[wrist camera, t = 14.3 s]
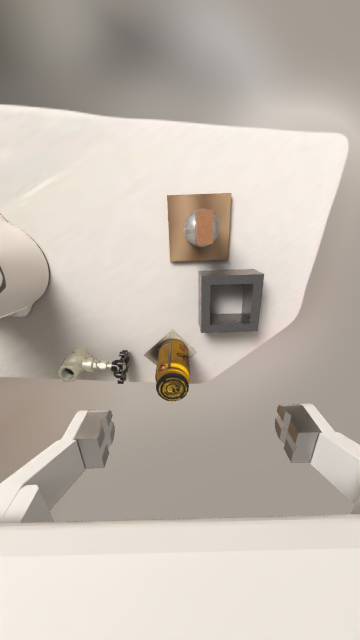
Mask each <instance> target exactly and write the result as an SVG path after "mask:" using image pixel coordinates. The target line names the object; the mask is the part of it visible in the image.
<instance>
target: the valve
mask: <svg viewBox="0 0 360 640" xmlns="http://www.w3.org/2000/svg"><path fill="white" fill-rule="evenodd" d="M127 355H128V351H127V350H123V351H122V352H120V354H119V356H122V357H121V359H120V360H115V361H113V362H112V363H108V361H101V362H98V360H96V358H95V357H91V355H90V354H89V352H88V351H87V350H86V349H80V348H77V349H76V350H75V351H74V352H73V354H70V355H69V356H67V357H66V359H65V360H64V362H63V364H62V365H61V367H60V369H59V370H58V372H57V374H58V375H59V377H60V378H61V379H62V380H64V381H74V380H75V379H76V378H77V376H78V374H80V373H82V372H83V371H84V370H85V371H87V372H90V373H93V372H94V371H95V370H97V369H98V368H99V369H100V370H105V371H106V370H107V369H108V368H111V370H112V371H114V375H115V377H116V378H120V380H118V384H123V383H124V381H126V372H128V366H127V363H128V361H129V357H128V356H127ZM117 371H119V372H117Z"/></svg>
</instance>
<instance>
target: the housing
mask: <svg viewBox="0 0 360 640" xmlns="http://www.w3.org/2000/svg"><path fill="white" fill-rule="evenodd" d="M263 279H264V274H263V273H261V272H258V271H256V270H254V269H248V270H218V271H199V326H200V330H201V333H209V332H240V331H258V322H259V313H260V305H261V296H262V288H263ZM231 284H244V293H243V305H242V314H211V315H210V289H211V285H231Z"/></svg>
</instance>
